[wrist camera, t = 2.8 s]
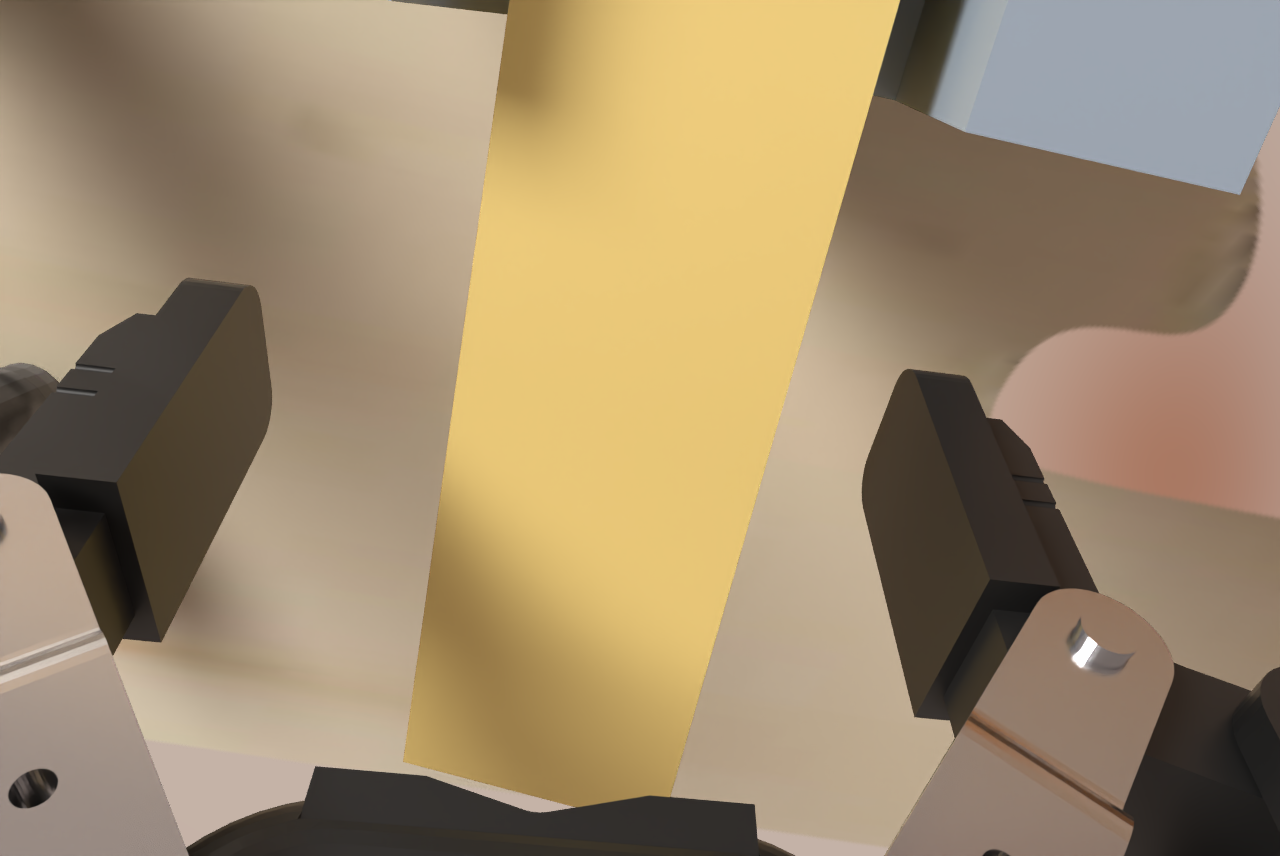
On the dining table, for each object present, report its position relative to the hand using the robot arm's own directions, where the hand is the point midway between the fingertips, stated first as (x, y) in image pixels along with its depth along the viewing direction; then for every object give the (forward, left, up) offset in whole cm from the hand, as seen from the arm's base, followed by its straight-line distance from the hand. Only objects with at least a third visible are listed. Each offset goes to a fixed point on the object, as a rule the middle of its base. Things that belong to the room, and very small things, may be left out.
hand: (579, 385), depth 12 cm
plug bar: (+4, +4, -3) cm, 7 cm away
